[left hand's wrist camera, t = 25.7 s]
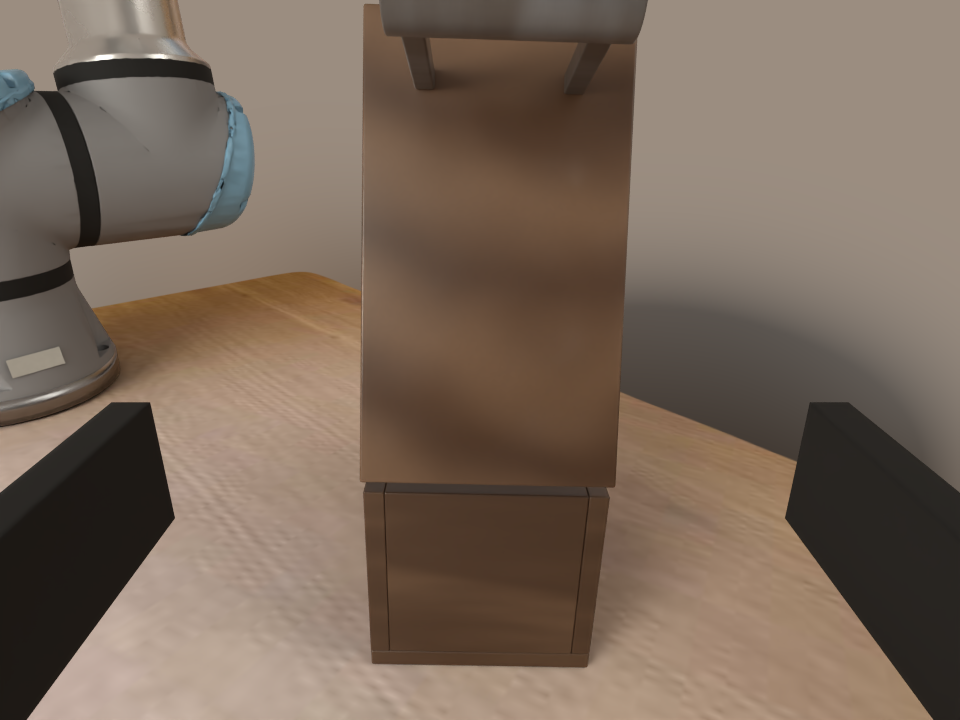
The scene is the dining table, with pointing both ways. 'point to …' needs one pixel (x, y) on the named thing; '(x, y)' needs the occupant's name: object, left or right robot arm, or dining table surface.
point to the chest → (483, 573)
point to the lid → (495, 239)
